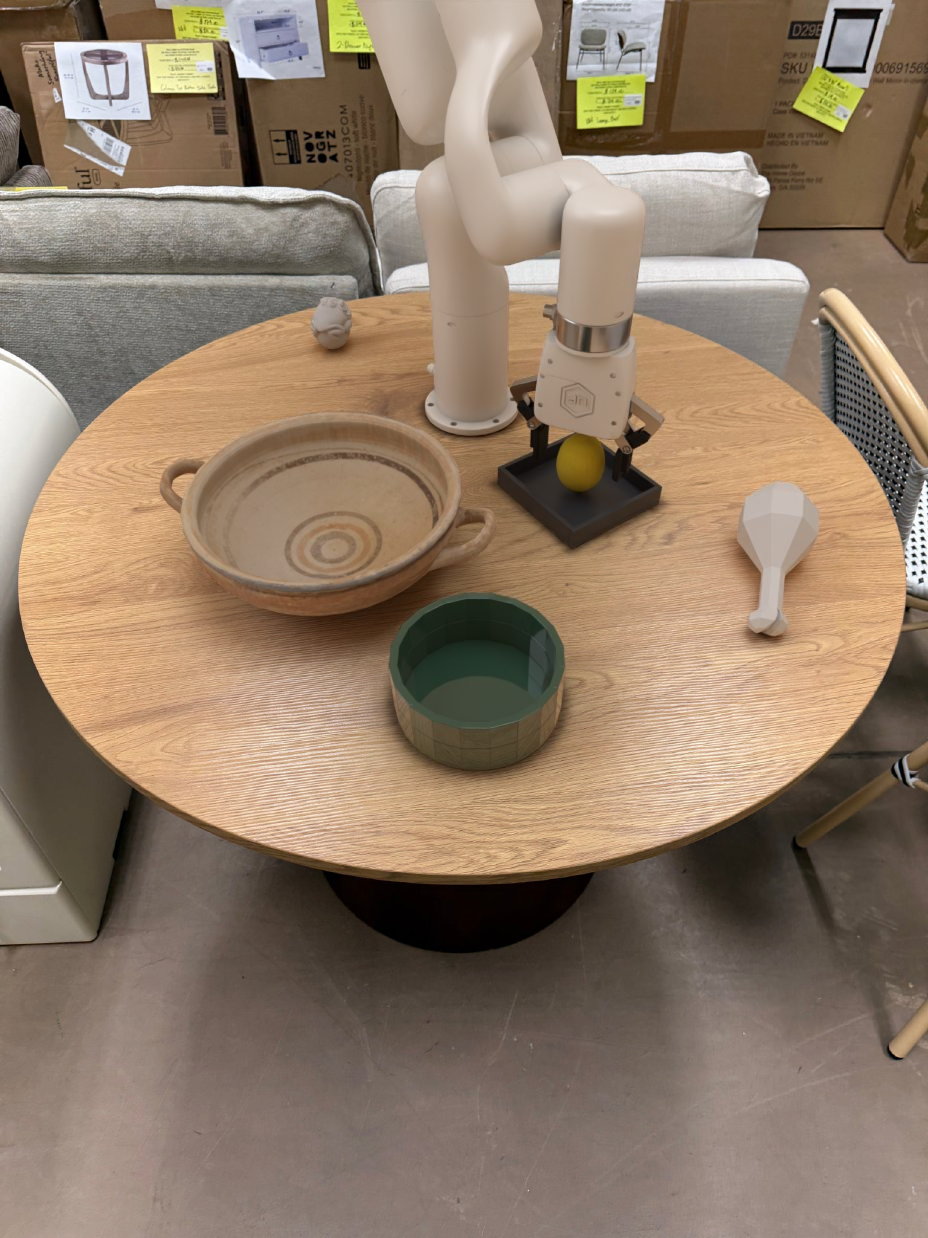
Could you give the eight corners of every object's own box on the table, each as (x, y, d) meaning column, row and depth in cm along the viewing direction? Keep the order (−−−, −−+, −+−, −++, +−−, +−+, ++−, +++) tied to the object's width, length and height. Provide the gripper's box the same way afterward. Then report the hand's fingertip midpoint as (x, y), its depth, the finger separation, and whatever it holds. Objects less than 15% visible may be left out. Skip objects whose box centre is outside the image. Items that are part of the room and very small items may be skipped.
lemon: (600, 476, 98) (607, 420, 92) (601, 506, 94) (608, 450, 88) (555, 475, 99) (559, 418, 93) (553, 504, 95) (557, 448, 89)
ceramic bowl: (119, 620, 85) (83, 550, 78) (242, 459, 103) (222, 389, 96) (457, 693, 78) (454, 623, 70) (526, 505, 96) (529, 434, 88)
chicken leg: (707, 635, 83) (758, 600, 76) (724, 499, 91) (772, 456, 84) (777, 664, 84) (833, 633, 77) (787, 527, 93) (839, 488, 86)
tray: (497, 484, 99) (497, 466, 97) (581, 445, 103) (582, 428, 101) (571, 549, 91) (573, 531, 89) (659, 504, 95) (662, 486, 93)
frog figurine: (363, 337, 123) (357, 293, 118) (342, 360, 119) (335, 315, 113) (327, 331, 125) (320, 287, 119) (305, 354, 120) (297, 309, 115)
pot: (365, 683, 79) (357, 640, 74) (496, 614, 84) (496, 569, 79) (455, 801, 70) (452, 760, 65) (594, 715, 76) (601, 671, 71)
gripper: (498, 325, 81) (497, 463, 94) (666, 362, 76) (641, 502, 89) (527, 292, 86) (522, 428, 99) (688, 324, 81) (661, 464, 93)
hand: (578, 463), depth 94 cm, fingers open, 9 cm apart
